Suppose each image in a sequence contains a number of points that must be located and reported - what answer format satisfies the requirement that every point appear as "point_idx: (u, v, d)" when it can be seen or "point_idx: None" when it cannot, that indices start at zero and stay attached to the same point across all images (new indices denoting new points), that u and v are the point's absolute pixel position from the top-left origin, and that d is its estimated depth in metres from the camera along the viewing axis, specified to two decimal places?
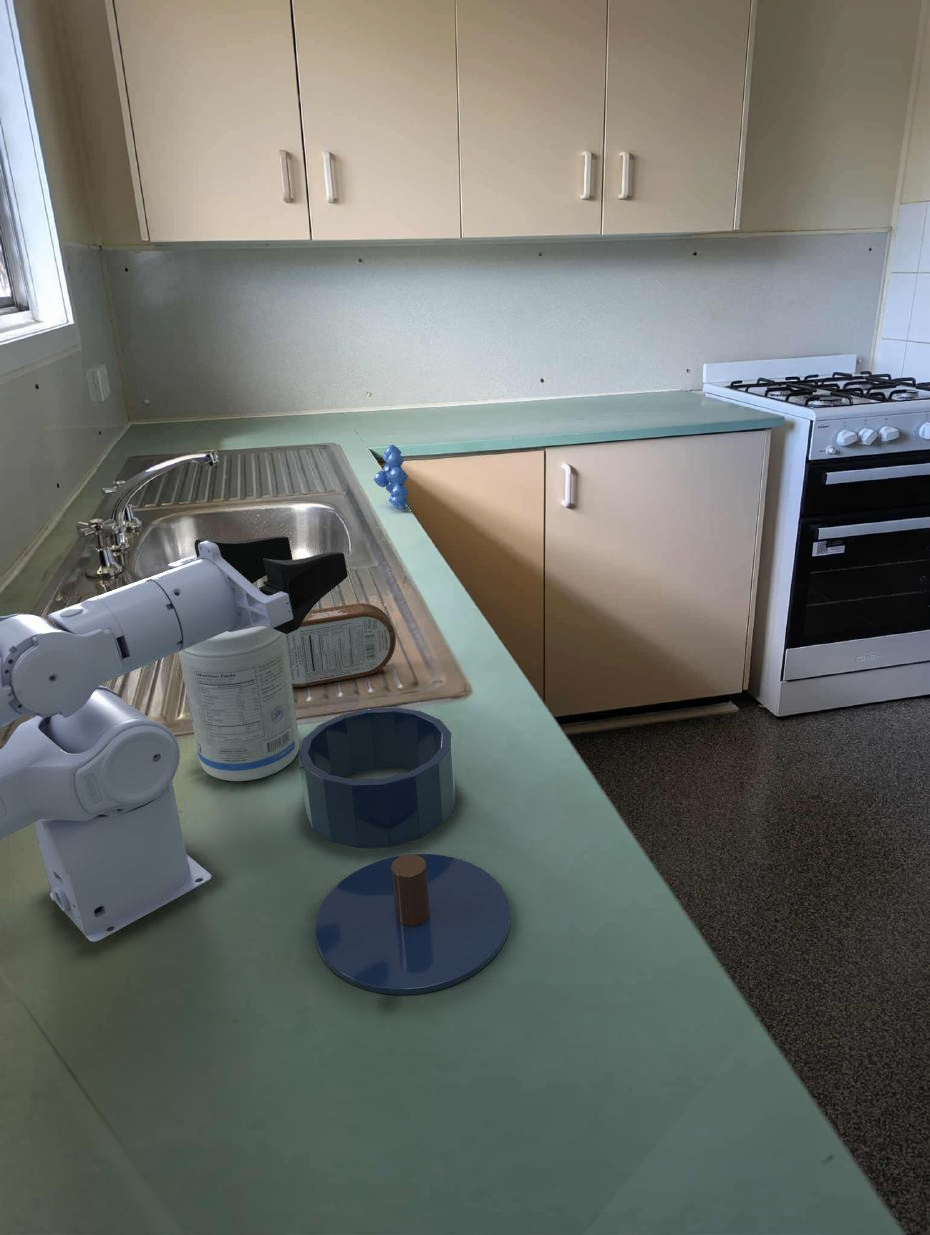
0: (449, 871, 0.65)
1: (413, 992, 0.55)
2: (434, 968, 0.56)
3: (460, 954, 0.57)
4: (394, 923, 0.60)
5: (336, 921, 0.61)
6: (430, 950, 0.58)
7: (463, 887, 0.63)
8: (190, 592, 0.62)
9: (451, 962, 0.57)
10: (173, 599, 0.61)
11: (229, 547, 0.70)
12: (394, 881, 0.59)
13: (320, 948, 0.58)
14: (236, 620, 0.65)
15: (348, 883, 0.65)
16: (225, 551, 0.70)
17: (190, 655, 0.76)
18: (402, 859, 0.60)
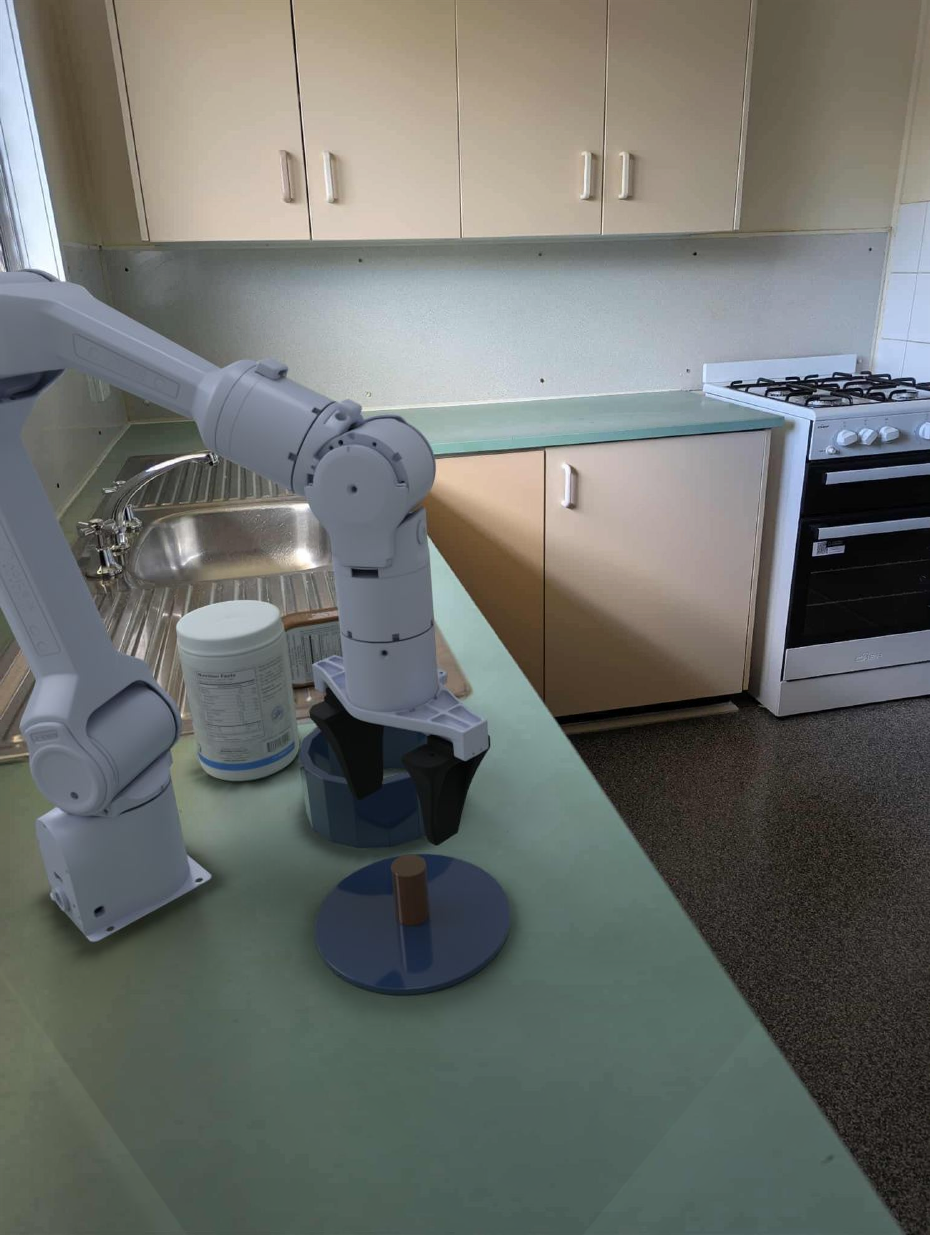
0: (449, 871, 0.65)
1: (413, 992, 0.55)
2: (434, 968, 0.56)
3: (460, 954, 0.57)
4: (394, 923, 0.60)
5: (336, 921, 0.61)
6: (430, 950, 0.58)
7: (463, 887, 0.63)
8: (434, 647, 0.53)
9: (451, 962, 0.57)
10: (433, 628, 0.53)
11: None
12: (394, 881, 0.59)
13: (320, 948, 0.58)
14: (400, 709, 0.52)
15: (348, 883, 0.65)
16: None
17: (190, 655, 0.76)
18: (402, 859, 0.60)
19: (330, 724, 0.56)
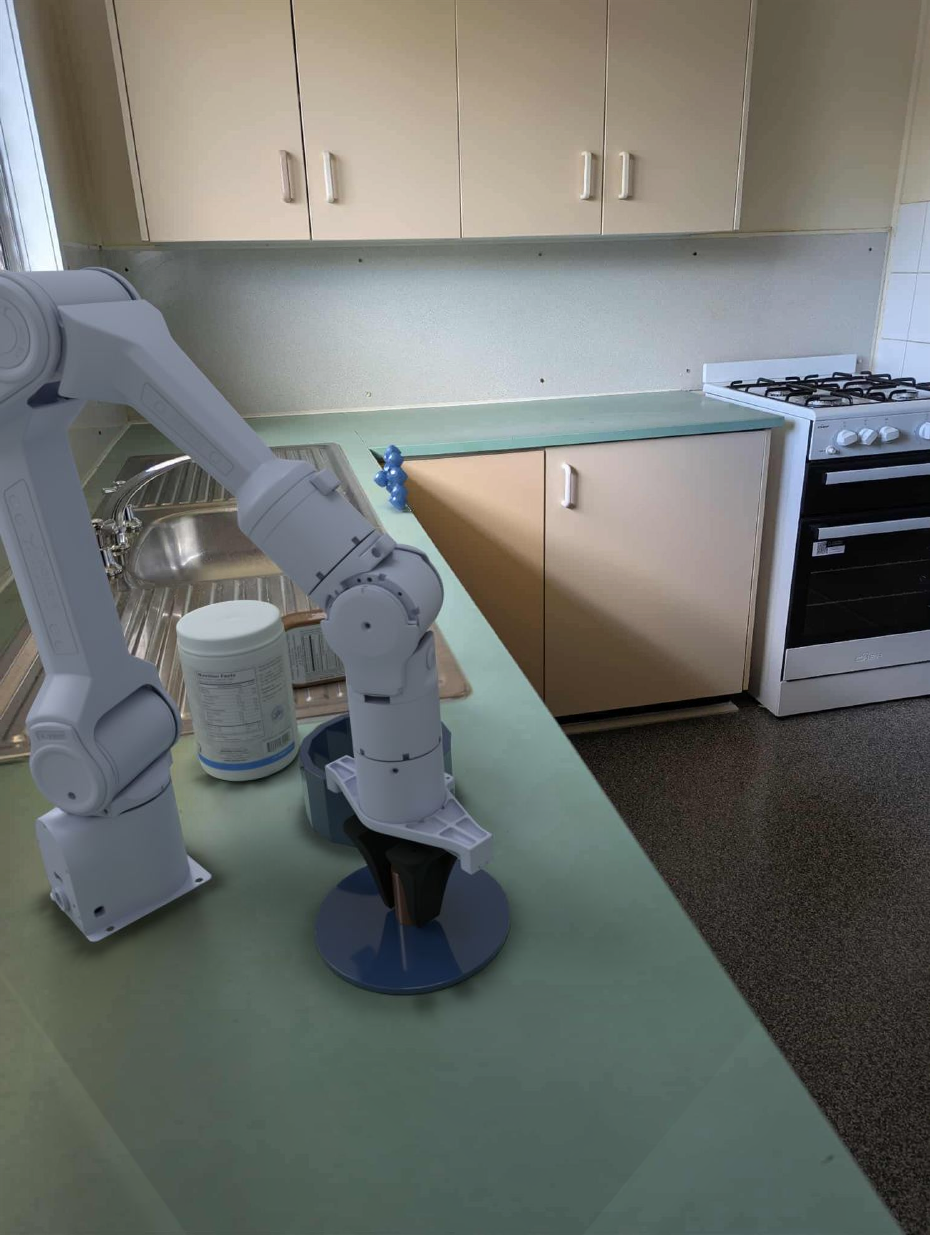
0: None
1: (413, 992, 0.55)
2: (434, 968, 0.56)
3: (460, 954, 0.57)
4: (394, 923, 0.60)
5: (336, 921, 0.61)
6: (430, 950, 0.58)
7: (463, 887, 0.63)
8: (442, 760, 0.56)
9: (451, 962, 0.57)
10: (441, 743, 0.55)
11: None
12: (394, 881, 0.59)
13: (320, 948, 0.58)
14: (410, 821, 0.55)
15: (348, 883, 0.65)
16: None
17: (190, 655, 0.76)
18: None
19: (364, 840, 0.58)
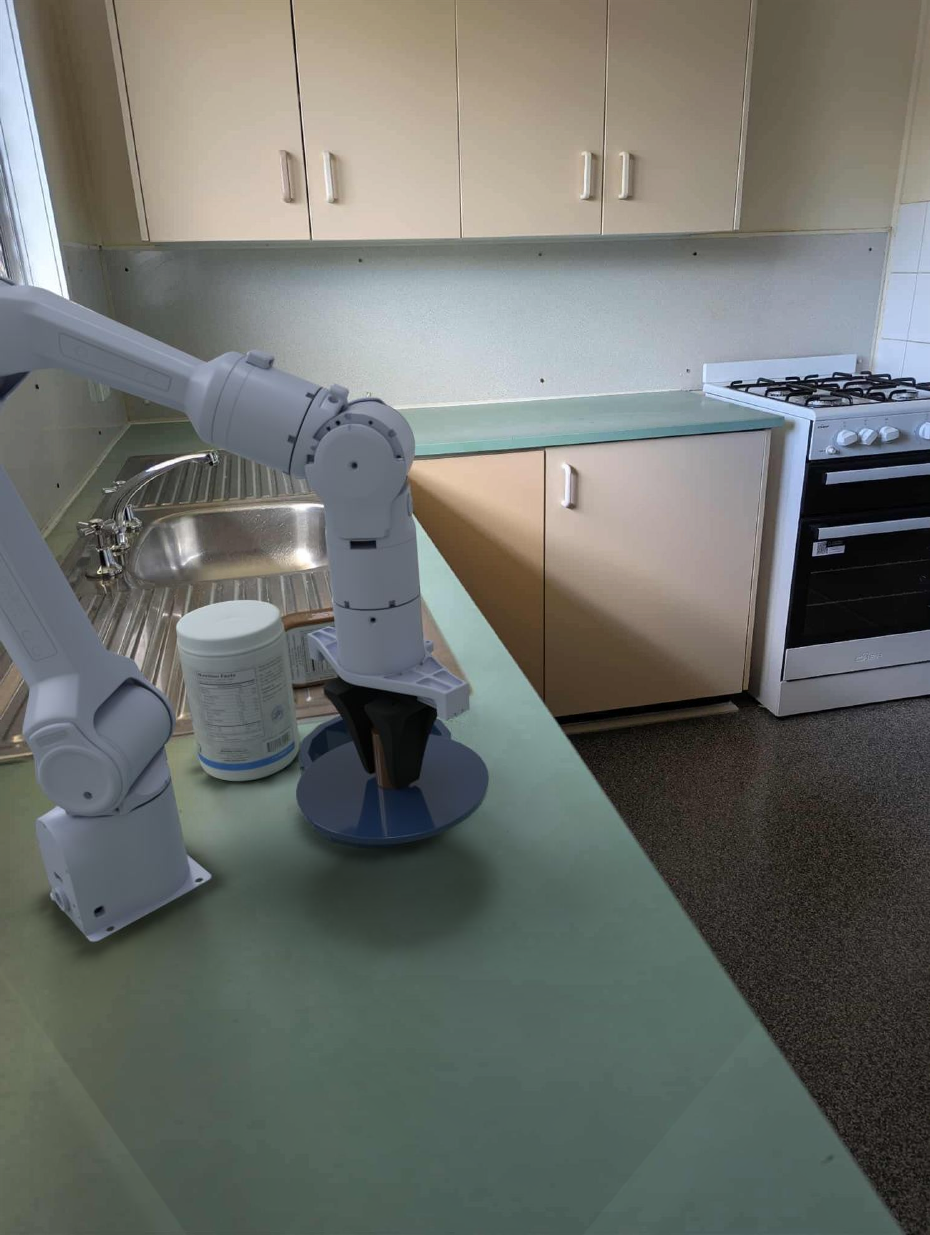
0: (430, 746, 0.66)
1: (390, 842, 0.56)
2: (411, 821, 0.57)
3: (438, 811, 0.58)
4: (374, 787, 0.61)
5: (317, 785, 0.62)
6: (408, 807, 0.59)
7: (443, 758, 0.64)
8: (420, 616, 0.57)
9: (428, 817, 0.57)
10: (419, 598, 0.56)
11: None
12: (374, 743, 0.60)
13: (300, 807, 0.59)
14: (387, 673, 0.56)
15: (330, 756, 0.65)
16: None
17: (190, 655, 0.76)
18: None
19: (344, 699, 0.59)
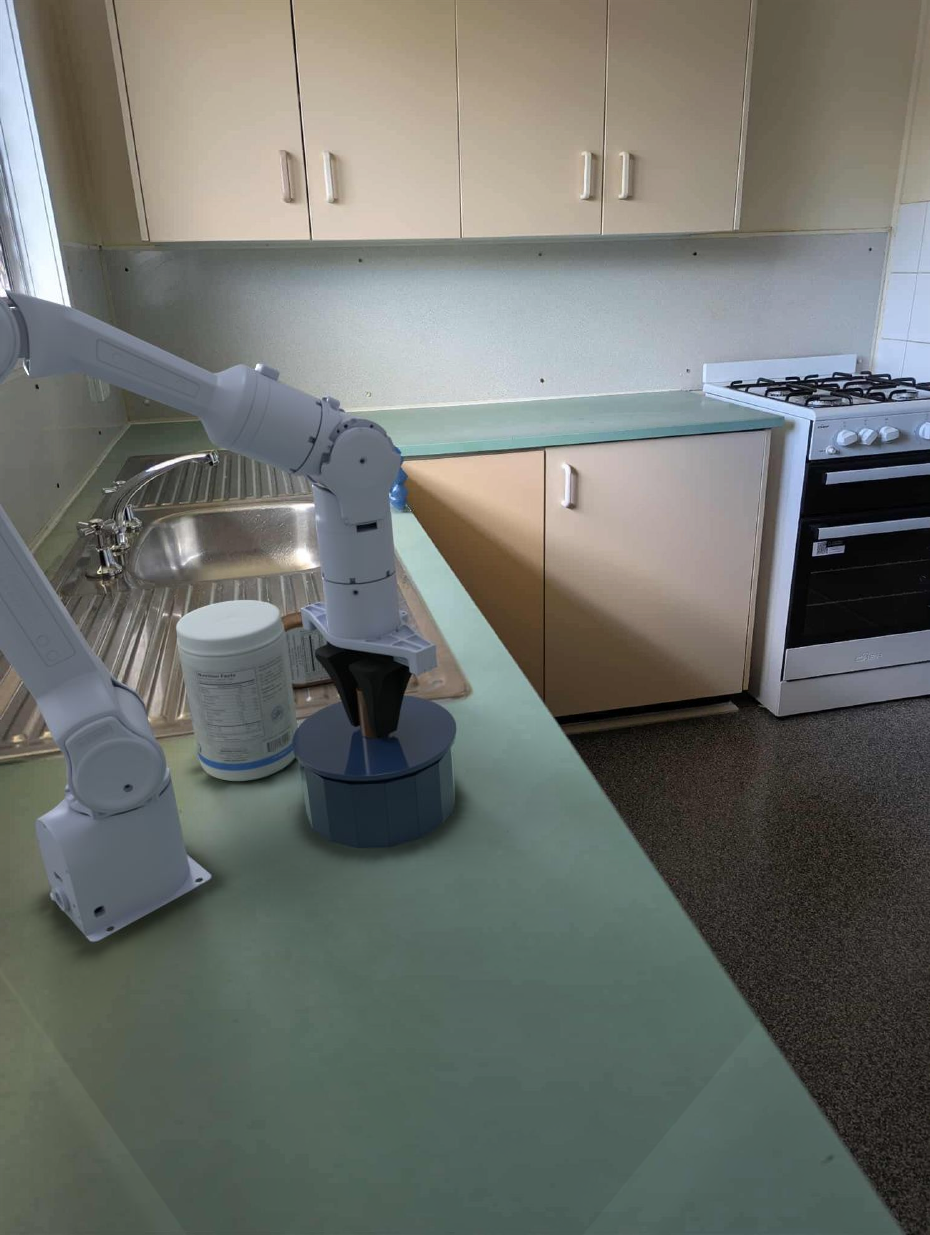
0: (408, 704, 0.77)
1: (371, 778, 0.66)
2: (390, 763, 0.68)
3: (412, 754, 0.69)
4: (359, 737, 0.72)
5: (310, 736, 0.72)
6: (387, 752, 0.69)
7: (418, 714, 0.75)
8: (396, 590, 0.68)
9: (404, 759, 0.68)
10: (395, 574, 0.67)
11: None
12: (358, 698, 0.71)
13: (296, 753, 0.70)
14: (368, 637, 0.66)
15: (321, 713, 0.76)
16: None
17: (190, 655, 0.76)
18: None
19: (332, 661, 0.69)
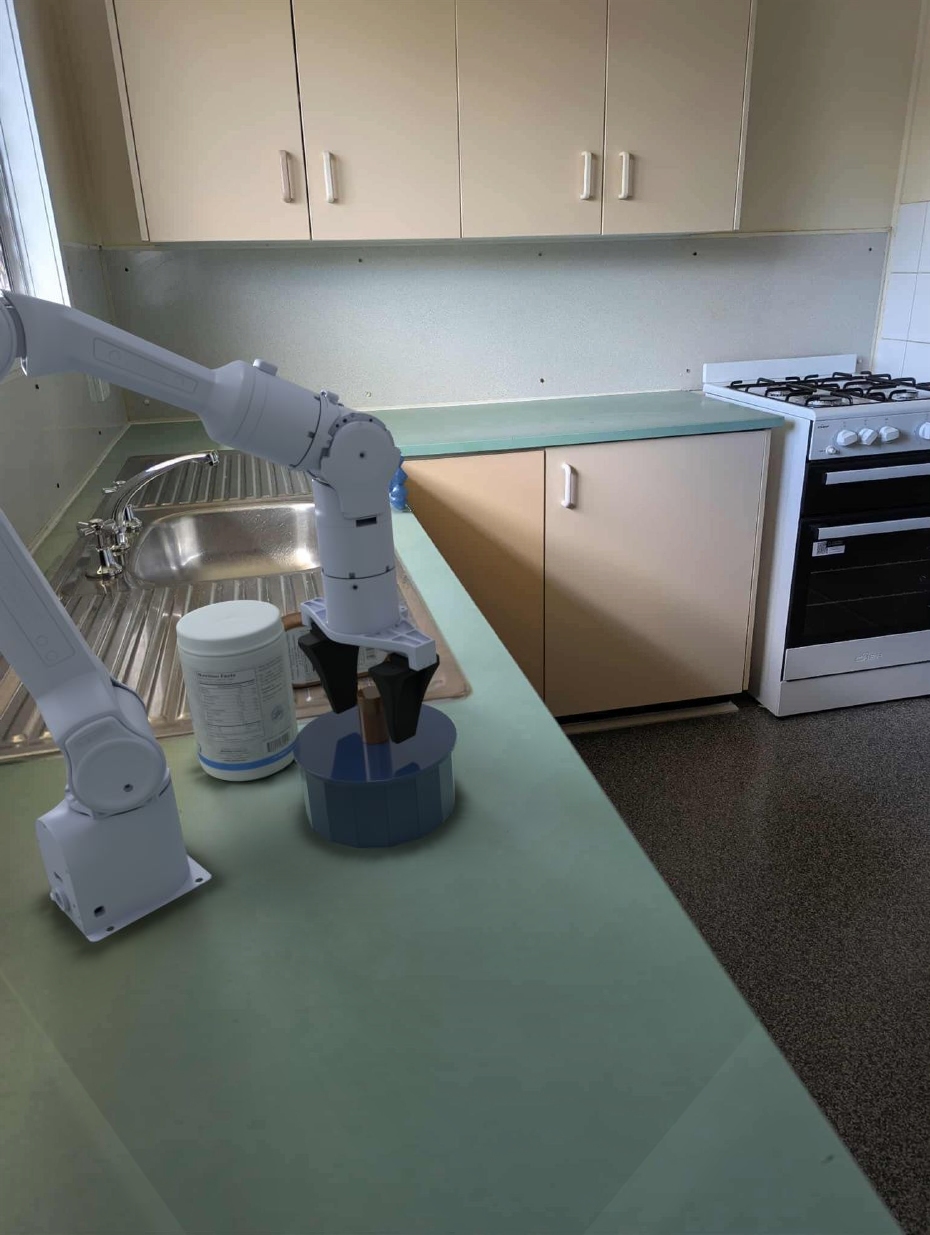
0: None
1: (372, 785, 0.67)
2: (390, 769, 0.68)
3: (412, 760, 0.69)
4: (359, 742, 0.72)
5: (311, 742, 0.73)
6: (388, 758, 0.69)
7: (419, 720, 0.75)
8: (396, 585, 0.67)
9: (405, 765, 0.68)
10: (394, 569, 0.67)
11: (356, 645, 0.74)
12: (359, 705, 0.71)
13: (297, 759, 0.70)
14: (368, 633, 0.66)
15: (322, 719, 0.76)
16: None
17: (190, 655, 0.76)
18: (366, 688, 0.72)
19: (314, 649, 0.71)
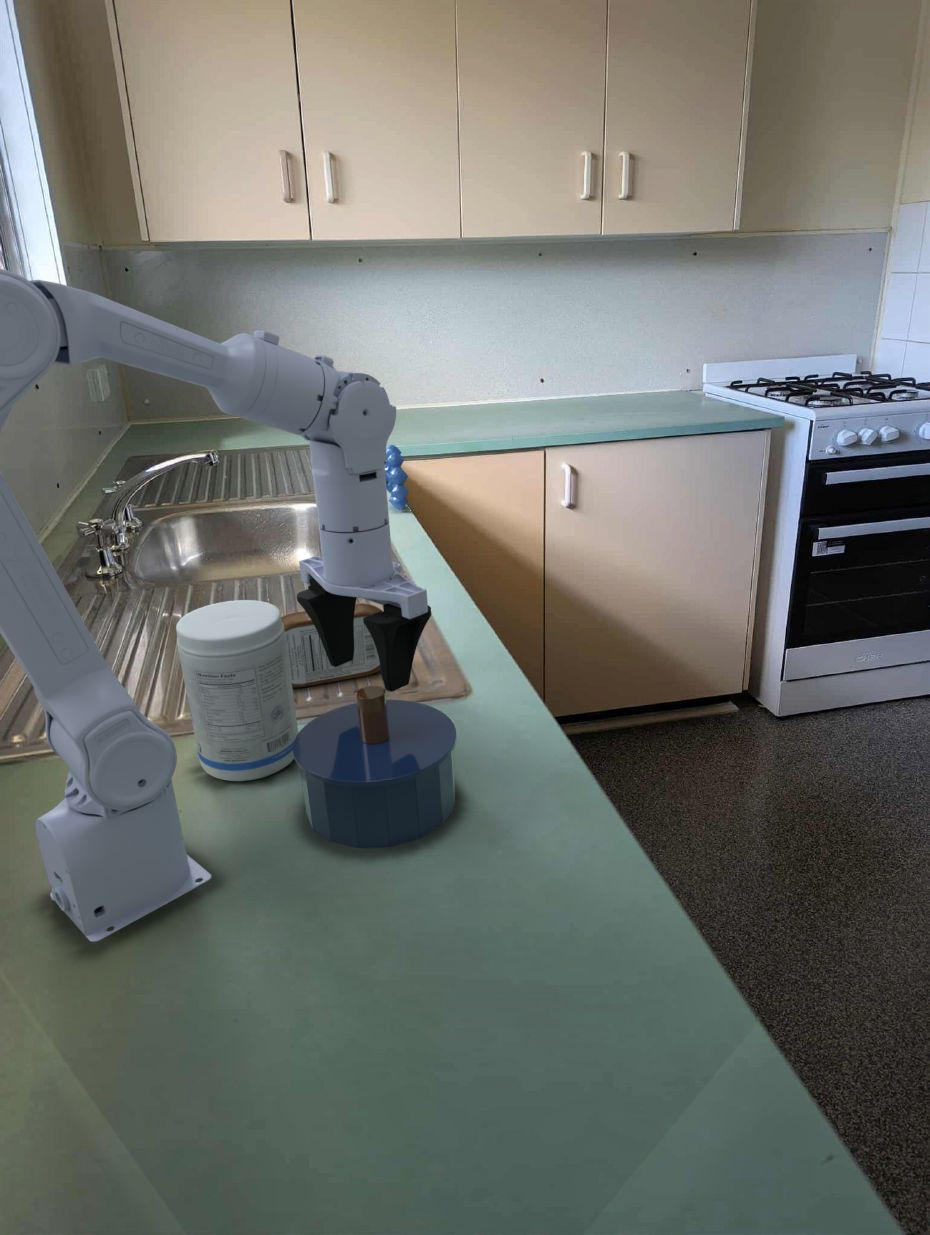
0: (408, 710, 0.77)
1: (372, 784, 0.67)
2: (390, 769, 0.68)
3: (412, 760, 0.69)
4: (359, 742, 0.72)
5: (311, 742, 0.73)
6: (388, 758, 0.70)
7: (418, 719, 0.75)
8: (389, 541, 0.71)
9: (404, 765, 0.68)
10: (388, 525, 0.71)
11: (353, 601, 0.78)
12: (358, 704, 0.71)
13: (296, 758, 0.70)
14: (363, 584, 0.70)
15: (322, 719, 0.76)
16: (350, 598, 0.77)
17: (190, 655, 0.76)
18: (365, 688, 0.72)
19: (312, 603, 0.75)
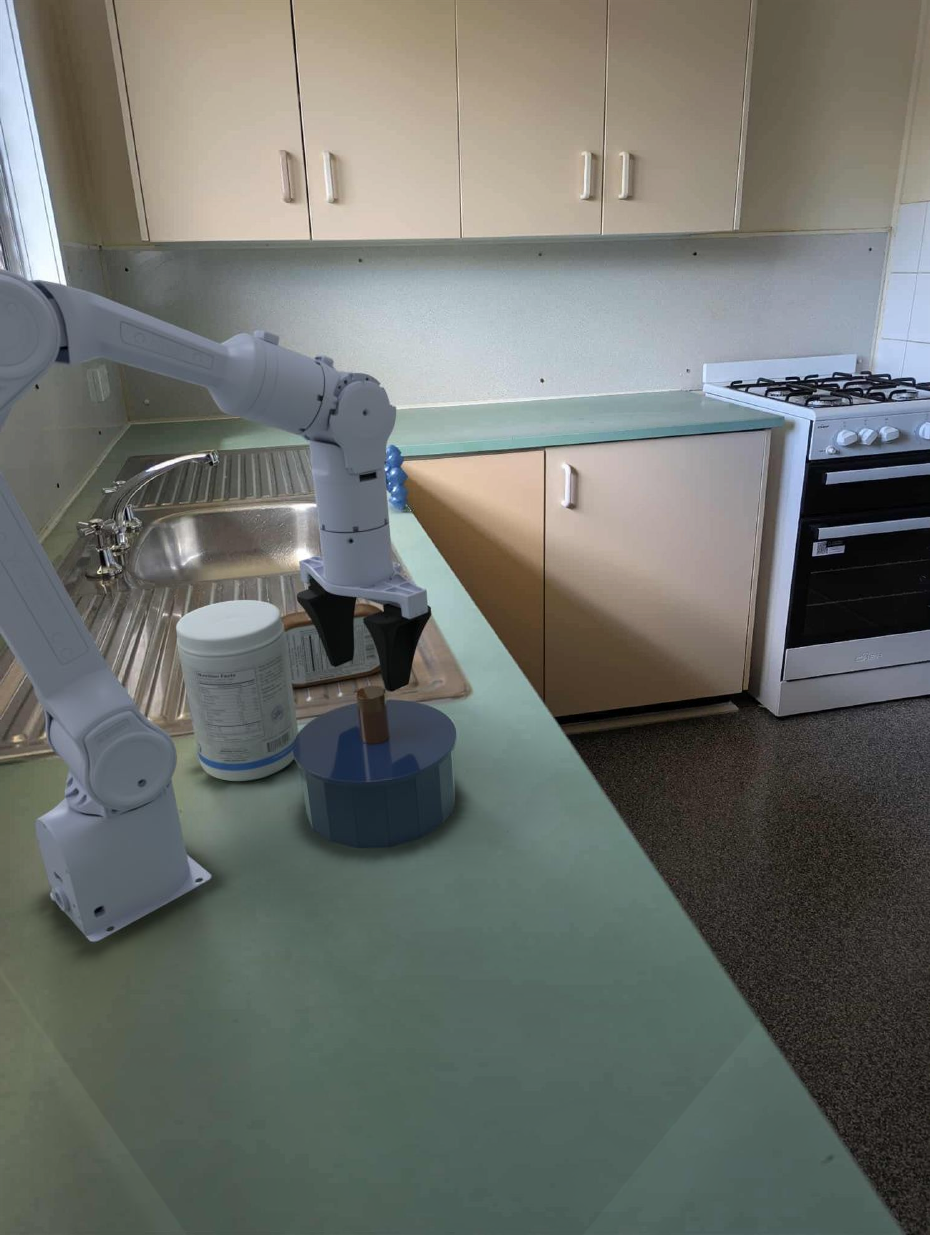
0: (408, 710, 0.77)
1: (372, 784, 0.67)
2: (390, 769, 0.68)
3: (412, 760, 0.69)
4: (359, 742, 0.72)
5: (311, 742, 0.73)
6: (388, 758, 0.70)
7: (418, 719, 0.75)
8: (389, 541, 0.71)
9: (404, 765, 0.68)
10: (388, 525, 0.71)
11: (353, 601, 0.78)
12: (358, 704, 0.71)
13: (296, 758, 0.70)
14: (363, 584, 0.70)
15: (322, 719, 0.76)
16: (350, 598, 0.77)
17: (190, 655, 0.76)
18: (365, 688, 0.72)
19: (312, 603, 0.75)
